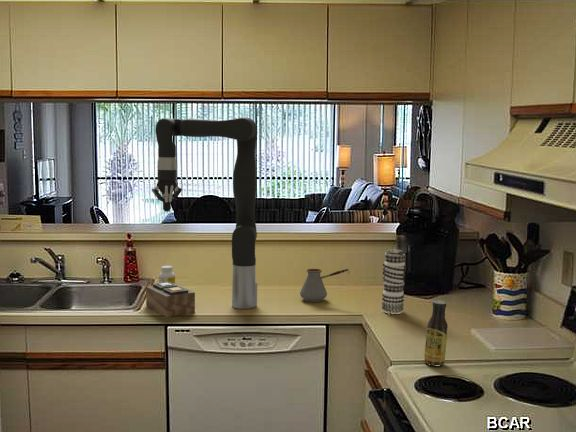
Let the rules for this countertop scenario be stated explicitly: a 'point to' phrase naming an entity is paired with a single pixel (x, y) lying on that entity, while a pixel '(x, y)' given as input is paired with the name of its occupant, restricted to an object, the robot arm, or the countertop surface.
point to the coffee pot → (315, 285)
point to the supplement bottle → (166, 275)
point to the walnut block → (170, 300)
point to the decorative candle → (393, 281)
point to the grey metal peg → (165, 284)
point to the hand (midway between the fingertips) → (166, 211)
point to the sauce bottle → (436, 335)
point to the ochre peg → (175, 289)
